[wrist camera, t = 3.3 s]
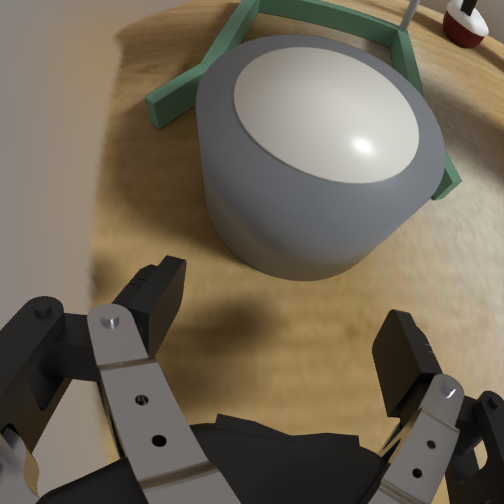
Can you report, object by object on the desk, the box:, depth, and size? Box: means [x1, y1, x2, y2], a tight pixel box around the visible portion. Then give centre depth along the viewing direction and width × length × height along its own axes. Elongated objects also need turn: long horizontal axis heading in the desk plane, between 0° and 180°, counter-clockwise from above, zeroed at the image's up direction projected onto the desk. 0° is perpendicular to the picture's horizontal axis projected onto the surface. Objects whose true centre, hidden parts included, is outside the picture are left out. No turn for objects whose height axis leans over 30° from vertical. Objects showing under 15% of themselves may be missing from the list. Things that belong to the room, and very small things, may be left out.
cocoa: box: [443, 0, 488, 48], centre depth 25 cm, size 10×6×12 cm, turn 104°
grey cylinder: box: [196, 34, 446, 281], centre depth 16 cm, size 11×11×8 cm
